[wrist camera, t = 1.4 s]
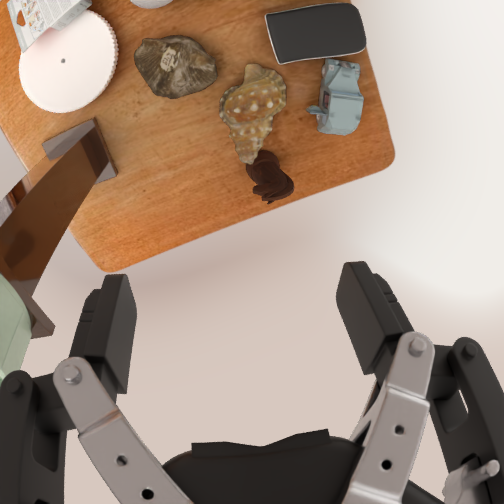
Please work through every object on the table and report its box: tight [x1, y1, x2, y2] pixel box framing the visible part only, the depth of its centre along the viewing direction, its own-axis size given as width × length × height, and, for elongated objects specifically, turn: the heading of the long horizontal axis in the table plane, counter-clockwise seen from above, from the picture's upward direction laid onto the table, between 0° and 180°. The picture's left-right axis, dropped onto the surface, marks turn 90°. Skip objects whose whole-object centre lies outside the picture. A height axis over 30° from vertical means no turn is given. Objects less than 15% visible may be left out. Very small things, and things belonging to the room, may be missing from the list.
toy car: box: [306, 58, 364, 135], centre depth 36 cm, size 6×10×5 cm, turn 177°
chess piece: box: [246, 150, 294, 204], centre depth 40 cm, size 5×5×10 cm
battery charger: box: [265, 3, 366, 64], centre depth 31 cm, size 7×4×11 cm
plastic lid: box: [19, 10, 119, 113], centre depth 30 cm, size 14×14×2 cm
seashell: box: [219, 64, 286, 164], centre depth 37 cm, size 9×8×10 cm
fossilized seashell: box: [134, 35, 218, 99], centre depth 32 cm, size 8×7×10 cm
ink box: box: [7, 0, 92, 53], centre depth 23 cm, size 2×11×10 cm
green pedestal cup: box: [0, 117, 118, 386], centre depth 26 cm, size 11×11×34 cm
